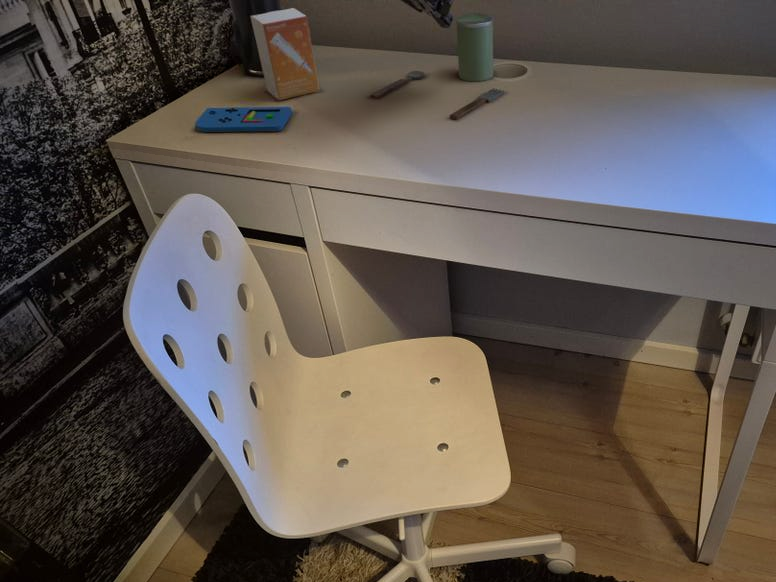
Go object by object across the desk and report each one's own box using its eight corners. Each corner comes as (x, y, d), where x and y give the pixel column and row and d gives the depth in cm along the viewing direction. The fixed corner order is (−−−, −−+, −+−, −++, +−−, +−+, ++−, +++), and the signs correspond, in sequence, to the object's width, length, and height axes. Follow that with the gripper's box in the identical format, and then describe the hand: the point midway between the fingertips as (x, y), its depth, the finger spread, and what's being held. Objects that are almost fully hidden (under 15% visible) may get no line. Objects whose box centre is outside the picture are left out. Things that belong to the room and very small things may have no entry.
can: (461, 82, 125) (458, 25, 118) (456, 70, 130) (453, 14, 123) (496, 79, 125) (496, 22, 119) (490, 67, 130) (489, 12, 124)
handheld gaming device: (206, 106, 116) (291, 104, 116) (208, 112, 117) (293, 111, 116) (190, 125, 110) (279, 124, 109) (192, 132, 111) (281, 131, 110)
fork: (459, 120, 112) (458, 117, 112) (447, 117, 113) (447, 114, 113) (504, 93, 120) (504, 90, 120) (493, 90, 121) (493, 87, 121)
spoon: (380, 100, 119) (379, 96, 119) (366, 96, 121) (366, 93, 120) (427, 75, 128) (427, 72, 127) (414, 72, 129) (414, 69, 129)
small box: (279, 101, 120) (261, 23, 111) (267, 91, 124) (249, 15, 115) (321, 91, 123) (307, 15, 114) (307, 81, 127) (293, 6, 118)
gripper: (439, -62, 97) (487, 8, 113) (371, -71, 103) (426, -3, 119) (420, -13, 98) (470, 50, 113) (353, -25, 103) (409, 37, 119)
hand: (447, 22), depth 116 cm, fingers closed
